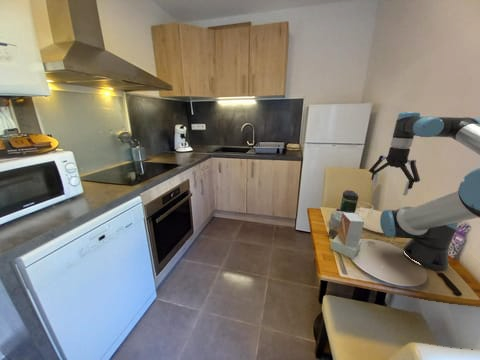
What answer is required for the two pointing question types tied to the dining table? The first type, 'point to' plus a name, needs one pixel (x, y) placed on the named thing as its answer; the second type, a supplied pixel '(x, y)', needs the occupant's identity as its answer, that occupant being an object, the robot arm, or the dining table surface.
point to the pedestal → (344, 248)
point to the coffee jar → (349, 201)
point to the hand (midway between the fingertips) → (388, 190)
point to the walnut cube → (333, 232)
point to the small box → (350, 229)
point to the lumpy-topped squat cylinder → (336, 218)
